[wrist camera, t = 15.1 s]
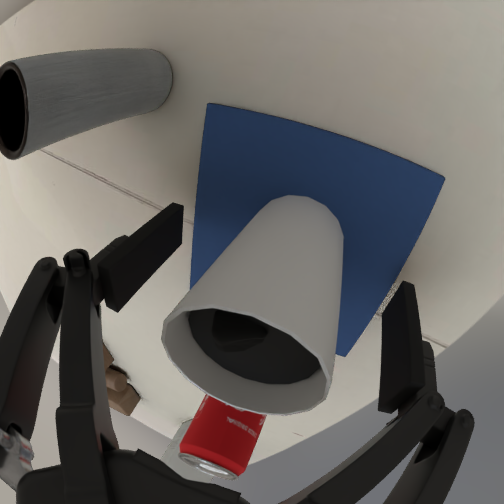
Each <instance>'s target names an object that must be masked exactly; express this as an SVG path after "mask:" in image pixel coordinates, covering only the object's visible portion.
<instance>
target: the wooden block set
mask: <svg viewBox="0 0 504 504" xmlns="http://www.w3.org/2000/svg"><path fill="white" fill-rule="evenodd" d="M102 344H103V342H102ZM103 357H104V369H105V378H106V387H107V394H108V402H109V407H111V408H113V409H115V410H117V411H119V412H121V413H123V414H124V415H126V416H130V414H131V413H132V411H133V410H134V408H135V407H136V405H137V404H138V402H139V401H140V397H139V396H138V395H137V393H136V392H135V391H134V389H133V388H132V387H131V386H130V385H128V384H127V378H126V376H125V375H124V374H122V373H120V372H118V371H115V370H113V369H111V368H109V366H110V364H111V363H112V362H113V361H114V359H113V358H112V356H111V355H110V353H109V352H108V350H107V348H106V347H105V345H104V344H103Z"/></svg>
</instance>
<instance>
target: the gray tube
mask: <svg viewBox="0 0 504 504" xmlns="http://www.w3.org/2000/svg"><path fill="white" fill-rule="evenodd" d="M171 85H172V71H171V67H170V64H169V62H168V60H167V59H166V57H165V56H164V55H163V54H161V53H160V52H158V51H156V50H152V49H139V48H115V49H91V50H77V51H67V52H58V53H51V54H44V55H38V56H32V57H26V58H21V59H16V60H12V61H8V62H6V63H4V64H3V65H2V66H1V67H0V151H1V153H2V154H3V155H4V156H5V157H6V158H8V159H11V160H16V159H19V158H21V157H23V156H25V155H27V154H30V153H32V152H34V151H36V150H39V149H41V148H43V147H46V146H48V145H50V144H53V143H55V142H58V141H60V140H63V139H65V138H68V137H71V136H73V135H76V134H79V133H82V132H85V131H87V130H90V129H93V128H96V127H99V126H102V125H106V124H109V123H112V122H115V121H119V120H122V119H126V118H129V117H133V116H136V115H140V114H144V113H147V112H150V111H153V110H155V109H157V108H158V107H159V106H161V105H162V104H163V102H164V101H165V100H166V98H167V96H168V95H169V92H170V89H171Z"/></svg>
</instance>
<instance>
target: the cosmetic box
mask: <svg viewBox="0 0 504 504" xmlns="http://www.w3.org/2000/svg"><path fill="white" fill-rule="evenodd" d="M192 420H193V419H192ZM192 420H190V421H187V422H185V423H182V425H181V426H180V428H179V429H178V431H177V433H176V434H175V436H174V438H173V439H172V441H171V443H170V444H169V446H168V448H167V450H166V451H165V453H164V455H163V456H162V458H161V459H160V460H161V461H163V462H164V463H165V464H166V465H168V466H169V467H170V468H171V469H173V470H174V471H175V472H176V473H178V474H179V475H180V476H182V477H183V478H185V479H188V480H193V481H199V482H205V483H210V482H211V481H212V479H213V477H214V476H213V475H210V474H207V473H205V472H203V471H200V470H198V469H196V468H194V467H192V466H190V465H189V464H187V463H185V462H184V461H182V460H181V459H180V458H179V457H178V454H179V453H180V447H179V445H180V443H181V441H182V439H183V437H184V435H185V433H186V431H187V430H188V428H189V426H190V424H191V422H192Z"/></svg>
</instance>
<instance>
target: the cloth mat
mask: <svg viewBox="0 0 504 504" xmlns="http://www.w3.org/2000/svg"><path fill="white" fill-rule="evenodd" d="M444 181H445V178H444V177H443V176H442V175H439V174H437V173H435V172H433V171H431V170H429V169H427V168H424V167H422V166H420V165H418V164H415V163H413V162H411V161H409V160H406V159H404V158H401V157H399V156H397V155H394V154H392V153H389V152H387V151H384V150H381V149H379V148H376V147H373V146H371V145H368V144H365V143H363V142H360V141H357V140H354V139H351V138H348V137H345V136H342V135H339V134H336V133H333V132H330V131H327V130H323V129H320V128H317V127H313V126H310V125H306V124H303V123H299V122H295V121H292V120H288V119H284V118H280V117H276V116H272V115H268V114H263V113H259V112H254V111H250V110H245V109H240V108H235V107H230V106H224V105H219V104H213V103H208V104H207V109H206V117H205V124H204V132H203V139H202V148H201V156H200V165H199V174H198V184H197V194H196V205H195V217H194V230H193V243H192V259H191V276H190V290H191V288H192V287H193V286H194V285H195V284H196V283H197V282H198V280H199V279H200V278H201V277H202V276H203V275H204V273H205V272H206V271H207V270H208V269H209V268H210V266H211V265H212V264H213V263H214V262H215V261H216V260H217V258H218V257H219V256H220V255H221V254H222V253H223V252H224V250H225V249H226V248H227V247H228V246H229V245H230V244H231V242H232V241H233V240H234V239H235V238H236V237H237V236H238V234H239V233H240V232H241V231H242V230H243V229H244V228H245V227H246V225H247V224H248V223H249V222H250V221H251V220H252V219H253V218H254V216H255V215H256V214H257V213H258V212H259V211H260V210H261V209H262V208H263V207H264V206H265V205H267V204H268V203H269V202H270V201H271V200H274V199H277V198H280V197H284V196H287V195H294V196H305V197H309V198H311V199H313V200H315V201H317V202H319V203H321V204H323V205H325V206H326V207H327V208H328V209H329V210H330V211H331V212H332V214H333V215H334V216H335V217H336V218H337V219H338V221H339V224H340V227H341V230H342V233H343V236H344V238H343V265H342V284H341V299H340V311H339V323H338V333H337V343H336V352H335V354H337V355H340V356H343V357H346V355H347V354H348V352H349V351H350V350H351V348H352V347H353V345H354V344H355V343H356V341H357V340H358V338H359V337H360V335H361V334H362V332H363V331H364V329H365V328H366V326H367V325H368V323H369V322H370V320H371V319H372V317H373V316H374V314H375V313H376V311H377V309H378V308H379V306H380V305H381V303H382V301H383V300H384V298H385V297H386V295H387V293H388V292H389V290H390V288H391V287H392V285H393V283H394V281H395V280H396V278H397V276H398V275H399V273H400V271H401V269H402V267H403V266H404V264H405V262H406V260H407V258H408V256H409V255H410V253H411V251H412V249H413V247H414V245H415V243H416V241H417V239H418V237H419V235H420V233H421V231H422V229H423V227H424V225H425V223H426V221H427V219H428V217H429V215H430V213H431V210H432V208H433V206H434V204H435V202H436V199H437V197H438V195H439V192H440V190H441V188H442V185H443V183H444Z"/></svg>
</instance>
